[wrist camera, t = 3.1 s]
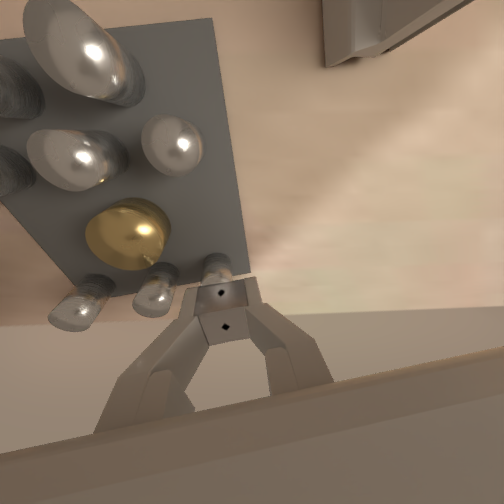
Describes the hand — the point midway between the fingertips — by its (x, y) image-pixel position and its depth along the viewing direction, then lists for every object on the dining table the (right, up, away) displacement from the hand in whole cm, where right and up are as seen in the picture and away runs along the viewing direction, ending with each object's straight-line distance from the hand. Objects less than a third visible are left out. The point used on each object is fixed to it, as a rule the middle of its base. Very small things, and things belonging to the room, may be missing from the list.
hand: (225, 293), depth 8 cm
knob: (-8, +4, +6) cm, 11 cm away
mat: (-8, +5, +6) cm, 11 cm away
